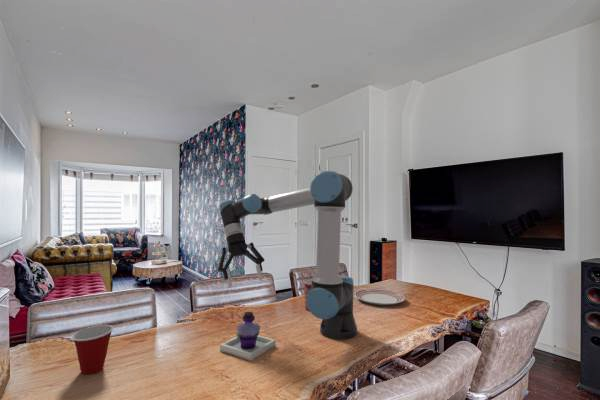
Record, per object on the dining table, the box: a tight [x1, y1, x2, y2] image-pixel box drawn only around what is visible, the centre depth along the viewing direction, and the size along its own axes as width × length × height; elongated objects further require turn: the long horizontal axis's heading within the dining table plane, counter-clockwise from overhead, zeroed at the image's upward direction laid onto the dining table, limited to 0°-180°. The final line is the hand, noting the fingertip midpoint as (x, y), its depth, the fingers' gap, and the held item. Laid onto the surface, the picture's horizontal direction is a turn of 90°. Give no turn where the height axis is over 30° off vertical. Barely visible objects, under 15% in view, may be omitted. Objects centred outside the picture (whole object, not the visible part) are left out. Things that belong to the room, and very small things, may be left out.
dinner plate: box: [354, 288, 406, 306], centre depth 179 cm, size 27×27×3 cm
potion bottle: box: [236, 311, 261, 349], centre depth 115 cm, size 9×9×12 cm
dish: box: [219, 334, 277, 362], centre depth 115 cm, size 14×14×2 cm
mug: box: [303, 280, 312, 312], centre depth 163 cm, size 13×9×14 cm
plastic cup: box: [70, 324, 114, 376], centre depth 98 cm, size 11×11×12 cm
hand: (246, 283), depth 132 cm, fingers open, 13 cm apart
